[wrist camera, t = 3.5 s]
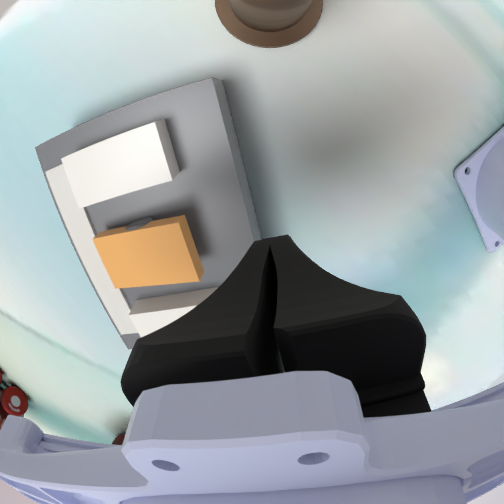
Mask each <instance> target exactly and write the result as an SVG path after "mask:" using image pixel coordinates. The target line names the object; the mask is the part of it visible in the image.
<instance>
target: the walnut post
mask: <svg viewBox="0 0 504 504" xmlns="http://www.w3.org/2000/svg"><path fill="white" fill-rule="evenodd" d="M322 5H323V3H322V0H215V7H216V12H217V14H218V17H219V19H220V20H221V22H222V24H223V25H224V27H225V28H226V29H227V30H228V31H229V32H230V33H231V34H232V35H233V36H234V37H236V38H237V39H239V40H240V41H242V42H245V43H247V44H250V45H253V46H257V47H264V48H276V47H283V46H287V45H290V44H293V43H295V42H297V41H299V40H300V39H302V38H303V37H305V36H306V35H307V34H308V33H309V32H310V31H311V30H312V29H313V28H314V26H315V25H316V23H317V22H318V20H319V18H320V16H321V12H322Z"/></svg>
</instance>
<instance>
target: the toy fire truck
mask: <svg viewBox="0 0 504 504" xmlns="http://www.w3.org/2000/svg"><path fill="white" fill-rule="evenodd" d="M1 381H2V375H1V371H0V384H1ZM27 408H28V400H27V397H26V395H25V394H24V392H23V391H22V390H21V389H19V388H17V387H14V386H11V387H7V388H5V389H4V390H1V389H0V430H1V428H2V426H3V424H4V422H5V420H6V418H7V416H8V415H13V416H18V417H22V418H23V417H24V413H25V412H26V411H27Z"/></svg>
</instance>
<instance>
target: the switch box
mask: <svg viewBox="0 0 504 504" xmlns="http://www.w3.org/2000/svg"><path fill="white" fill-rule="evenodd" d="M35 149H36V152H37V155H38V158H39V161H40V164H41V167H42V170H43V173H44V176H45V179H46V181H47V184H48V187H49V189H50V192H51V195H52V197H53V200H54V202H55V205H56V207H57V210H58V212H59V215H60V217H61V220H62V222H63V224H64V227H65V229H66V231H67V234H68V236H69V238H70V241H71V243H72V245H73V247H74V249H75V251H76V254H77V256H78V258H79V260H80V262H81V264H82V266H83V268H84V270H85V272H86V274H87V276H88V278H89V280H90V282H91V284H92V286H93V288H94V290H95V292H96V294H97V296H98V298H99V299H100V301H101V303H102V305H103V307H104V309H105V310H106V312H107V314H108V316H109V318H110V319H111V321H112V323H113V325H114V326H115V328H116V330H117V331H118V333H119V335H120V337H121V338H122V340H123V342H124V343H125V345H126V346H127V348H128V349H133V347H134V344H135V342H136V340H137V339H139V338H141V337H143V336H146V335H148V334H150V333H152V332H154V331H156V330H158V329H160V328H162V327H164V326H166V325H168V324H170V323H172V322H173V321H175V320H177V319H178V318H180V317H182V316H183V315H185V314H186V313H188V312H189V311H191V310H192V309H193V308H195V307H196V306H197V305H198V304H200V303H201V302H202V301H204V300H205V299H206V298H207V297H209V296H210V295H211V294H212V293H213V292H214V291H215V290H216V289H217V288H218V287H219V286H220V285H221V284H222V283H223V282H224V281H225V280H226V279H227V278H228V276H229V275H230V274H231V273H232V272H233V270H234V269H235V268H236V267H237V265H238V264H239V262H240V261H241V260H242V258H243V257H244V255H245V254H246V252H247V251H248V249H249V248H250V246H251V245H252V243H253V242H254V241H257V240H262V238H261V233H260V229H259V225H258V221H257V217H256V213H255V209H254V204H253V200H252V196H251V192H250V188H249V184H248V180H247V176H246V172H245V168H244V164H243V160H242V156H241V152H240V148H239V144H238V140H237V136H236V132H235V128H234V124H233V120H232V116H231V112H230V108H229V104H228V100H227V96H226V92H225V88H224V84H223V81H222V80H219V79H215V78H209V79H205V80H202V81H198V82H194V83H191V84H188V85H184V86H181V87H178V88H175V89H171V90H168V91H165V92H162V93H159V94H156V95H153V96H151V97H148V98H145V99H142V100H139V101H137V102H134V103H131V104H129V105H126V106H123V107H121V108H118V109H116V110H113V111H111V112H109V113H106V114H104V115H101V116H99V117H97V118H94V119H92V120H90V121H88V122H85V123H83V124H81V125H79V126H77V127H74V128H72V129H70V130H68V131H66V132H64V133H62V134H60V135H58V136H56V137H54V138H52V139H50V140H48V141H46V142H44V143H42V144H41V145H39V146H37V147H35ZM182 215H185V217H186V220H187V223H188V226H189V229H190V232H191V235H192V238H193V241H194V243H195V246H196V249H197V252H198V255H199V258H200V261H201V264H202V267H203V269H204V274H203V275H202V277H201V279H200V281H199V282H188V283H177V284H166V285H154V286H142V287H130V288H118V289H115V287H114V285H113V283H112V281H111V279H110V277H109V275H108V273H107V270H106V268H105V266H104V264H103V262H102V260H101V258H100V255H99V253H98V251H97V249H96V247H95V244H94V242H93V240H92V239H93V238H94V237H95V236H96V235H97V234H98V233H99V232H101V231H106V230H110V229H115V228H120V227H125V226H128V225H129V224H131V223H132V222H134V221H136V220H139V219H141V218H145V217H151V218H152V219H153V221H155V220H160V219H166V218H171V217H176V216H182Z"/></svg>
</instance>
